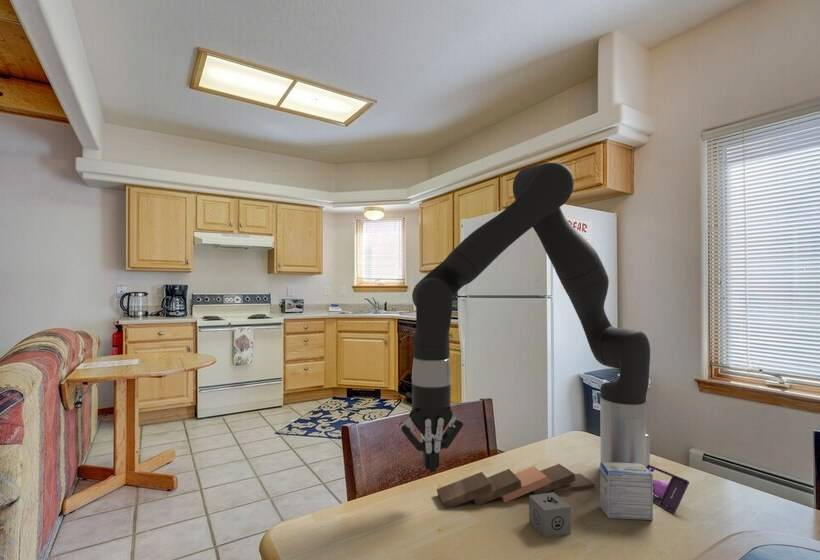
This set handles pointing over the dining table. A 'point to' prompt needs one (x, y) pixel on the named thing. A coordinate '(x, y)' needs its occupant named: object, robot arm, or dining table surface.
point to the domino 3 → (527, 483)
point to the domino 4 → (555, 478)
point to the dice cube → (550, 514)
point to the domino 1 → (464, 490)
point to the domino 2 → (500, 486)
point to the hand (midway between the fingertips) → (431, 470)
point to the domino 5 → (575, 485)
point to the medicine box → (626, 491)
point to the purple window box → (669, 490)
